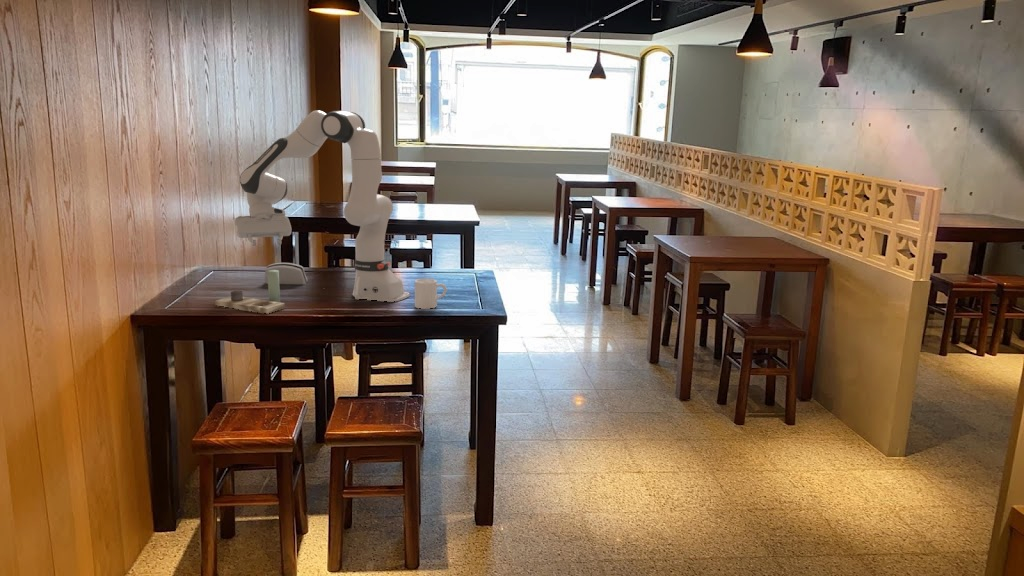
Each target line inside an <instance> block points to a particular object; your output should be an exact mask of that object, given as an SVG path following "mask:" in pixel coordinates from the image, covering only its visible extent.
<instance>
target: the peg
mask: <svg viewBox="0 0 1024 576" xmlns="http://www.w3.org/2000/svg"><path fill="white" fill-rule="evenodd" d="M267 272H268V284H267V288H268V291H267V293H268V301H274V302H281V293H280V292H281V291H280V289H281V288H280V285H281V284H279V271H278V270H269V271H267Z"/></svg>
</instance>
